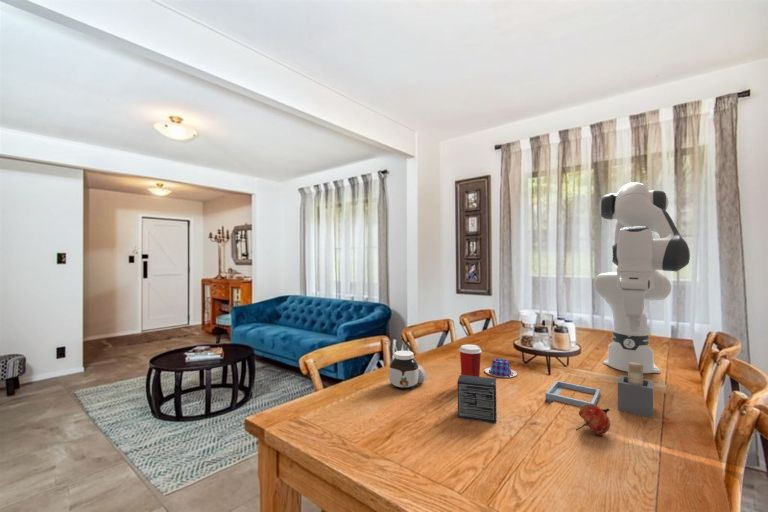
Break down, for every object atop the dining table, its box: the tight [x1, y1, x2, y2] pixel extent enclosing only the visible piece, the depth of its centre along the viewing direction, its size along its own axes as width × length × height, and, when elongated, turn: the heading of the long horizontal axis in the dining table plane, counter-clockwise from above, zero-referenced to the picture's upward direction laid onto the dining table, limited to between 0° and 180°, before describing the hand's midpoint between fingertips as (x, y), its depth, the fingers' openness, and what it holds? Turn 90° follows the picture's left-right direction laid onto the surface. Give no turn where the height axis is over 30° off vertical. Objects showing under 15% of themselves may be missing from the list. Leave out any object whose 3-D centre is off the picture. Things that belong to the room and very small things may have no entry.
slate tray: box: [545, 380, 601, 408], centre depth 108 cm, size 14×13×2 cm
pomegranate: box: [575, 404, 611, 436], centre depth 88 cm, size 7×7×10 cm
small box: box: [456, 374, 498, 424], centre depth 97 cm, size 11×6×10 cm, turn 71°
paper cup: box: [458, 344, 482, 377], centre depth 119 cm, size 8×8×14 cm
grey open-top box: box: [617, 374, 655, 419], centre depth 99 cm, size 8×8×9 cm
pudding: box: [484, 358, 518, 378], centre depth 133 cm, size 12×12×5 cm
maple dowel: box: [627, 362, 644, 386], centre depth 99 cm, size 4×4×13 cm
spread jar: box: [388, 350, 427, 391], centre depth 121 cm, size 12×11×12 cm
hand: (635, 328), depth 99 cm, fingers open, 8 cm apart
